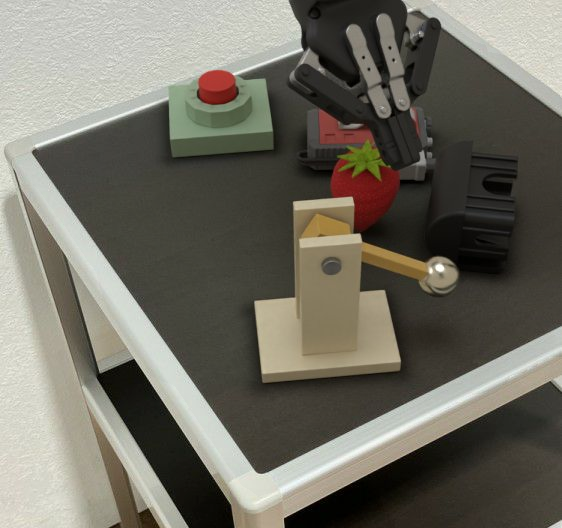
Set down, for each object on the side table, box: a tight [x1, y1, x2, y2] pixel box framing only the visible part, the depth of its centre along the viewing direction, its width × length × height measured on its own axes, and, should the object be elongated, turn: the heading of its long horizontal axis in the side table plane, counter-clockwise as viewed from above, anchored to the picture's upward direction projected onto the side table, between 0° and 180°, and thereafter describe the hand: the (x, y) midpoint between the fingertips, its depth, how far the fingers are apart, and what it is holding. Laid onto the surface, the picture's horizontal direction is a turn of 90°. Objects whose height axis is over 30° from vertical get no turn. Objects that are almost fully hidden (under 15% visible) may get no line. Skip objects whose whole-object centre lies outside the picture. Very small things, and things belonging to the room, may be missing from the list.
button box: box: [167, 75, 275, 158], centre depth 96 cm, size 10×9×4 cm
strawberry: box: [329, 139, 401, 233], centre depth 84 cm, size 6×8×10 cm
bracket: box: [254, 197, 402, 384], centre depth 74 cm, size 11×8×13 cm
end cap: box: [423, 139, 519, 274], centre depth 84 cm, size 10×7×7 cm
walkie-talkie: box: [295, 105, 437, 182], centre depth 93 cm, size 9×4×20 cm
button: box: [198, 69, 236, 105], centre depth 95 cm, size 4×4×2 cm
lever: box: [301, 213, 461, 298], centre depth 73 cm, size 13×3×3 cm, turn 96°
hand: (407, 166), depth 72 cm, fingers closed
